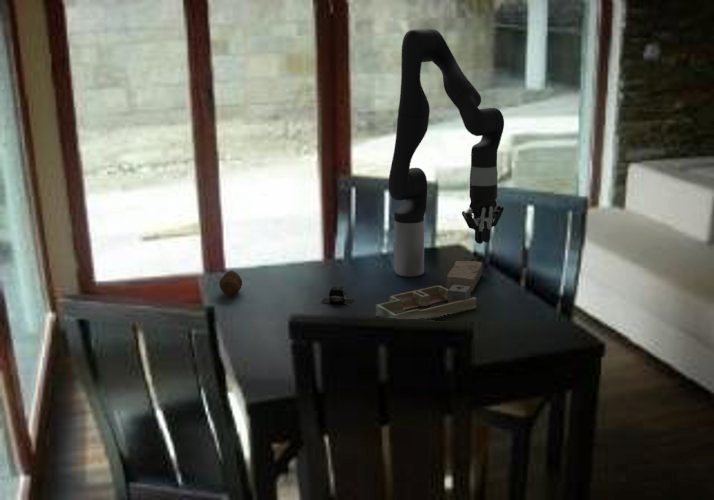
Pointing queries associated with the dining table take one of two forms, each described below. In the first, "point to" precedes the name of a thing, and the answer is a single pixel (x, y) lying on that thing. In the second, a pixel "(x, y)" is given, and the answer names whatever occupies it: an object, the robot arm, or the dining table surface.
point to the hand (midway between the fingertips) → (482, 242)
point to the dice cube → (458, 293)
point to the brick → (464, 274)
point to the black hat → (337, 301)
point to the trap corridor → (422, 304)
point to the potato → (230, 283)
